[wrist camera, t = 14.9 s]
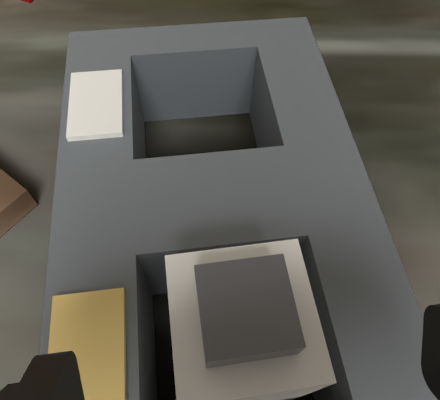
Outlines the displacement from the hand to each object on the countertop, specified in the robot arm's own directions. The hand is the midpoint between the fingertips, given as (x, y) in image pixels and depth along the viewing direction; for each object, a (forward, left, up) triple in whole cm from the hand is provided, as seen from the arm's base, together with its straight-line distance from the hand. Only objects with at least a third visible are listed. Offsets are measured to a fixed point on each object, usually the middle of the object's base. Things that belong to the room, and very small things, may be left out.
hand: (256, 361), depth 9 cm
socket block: (-5, -5, -9) cm, 12 cm away
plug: (-1, -1, -9) cm, 9 cm away
